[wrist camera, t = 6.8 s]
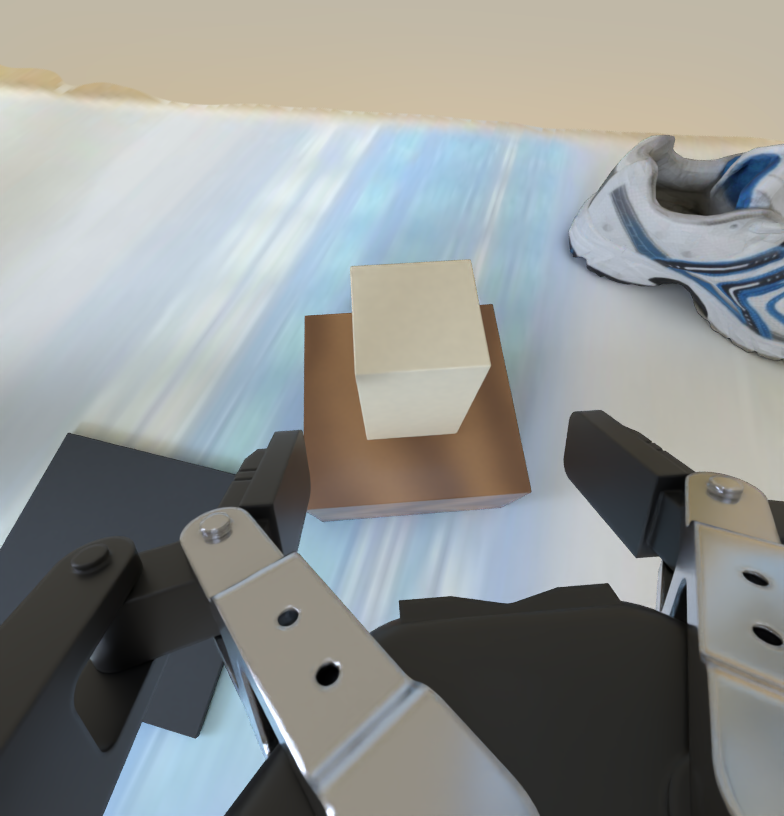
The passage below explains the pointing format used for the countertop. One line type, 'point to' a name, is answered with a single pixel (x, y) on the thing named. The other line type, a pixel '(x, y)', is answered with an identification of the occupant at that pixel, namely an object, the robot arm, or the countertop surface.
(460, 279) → the cream box
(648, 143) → the athletic shoe
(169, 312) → the countertop surface
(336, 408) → the brown box
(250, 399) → the countertop surface
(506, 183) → the countertop surface
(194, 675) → the rubber mat
